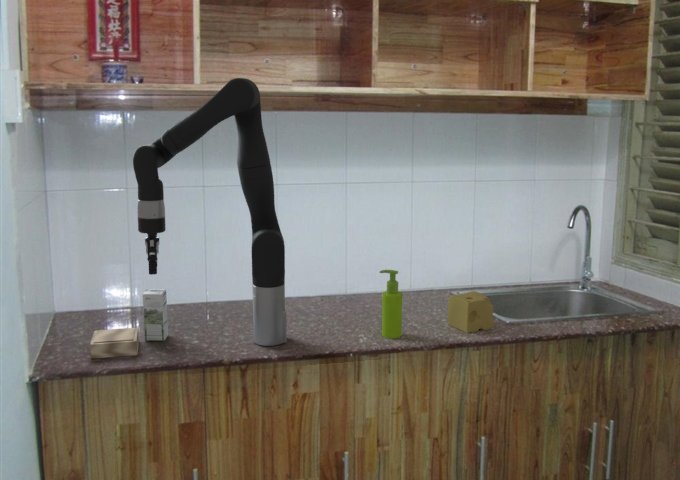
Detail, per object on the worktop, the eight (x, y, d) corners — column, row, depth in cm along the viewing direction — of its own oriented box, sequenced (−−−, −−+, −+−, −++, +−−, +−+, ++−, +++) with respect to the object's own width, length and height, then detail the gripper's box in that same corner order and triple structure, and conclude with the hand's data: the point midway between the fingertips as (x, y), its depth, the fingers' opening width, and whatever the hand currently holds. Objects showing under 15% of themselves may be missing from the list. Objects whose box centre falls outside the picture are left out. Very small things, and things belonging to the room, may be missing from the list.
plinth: (138, 340, 196) (138, 326, 195) (137, 355, 185) (136, 340, 184) (95, 343, 193) (94, 329, 193) (91, 358, 182) (89, 343, 181)
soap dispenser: (382, 330, 206) (383, 267, 203) (403, 333, 204) (405, 269, 200) (375, 336, 201) (376, 271, 197) (397, 339, 198) (399, 273, 195)
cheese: (494, 329, 209) (495, 298, 207) (466, 334, 204) (467, 302, 202) (473, 320, 218) (474, 290, 216) (445, 324, 213) (446, 294, 211)
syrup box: (168, 335, 201) (166, 288, 199) (164, 341, 196) (162, 293, 193) (149, 335, 201) (147, 288, 198) (144, 341, 195) (142, 293, 193)
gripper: (165, 219, 185) (166, 276, 189) (165, 211, 199) (166, 264, 202) (136, 219, 184) (138, 277, 187) (138, 211, 197) (140, 265, 200)
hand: (153, 270), depth 194 cm, fingers open, 8 cm apart
